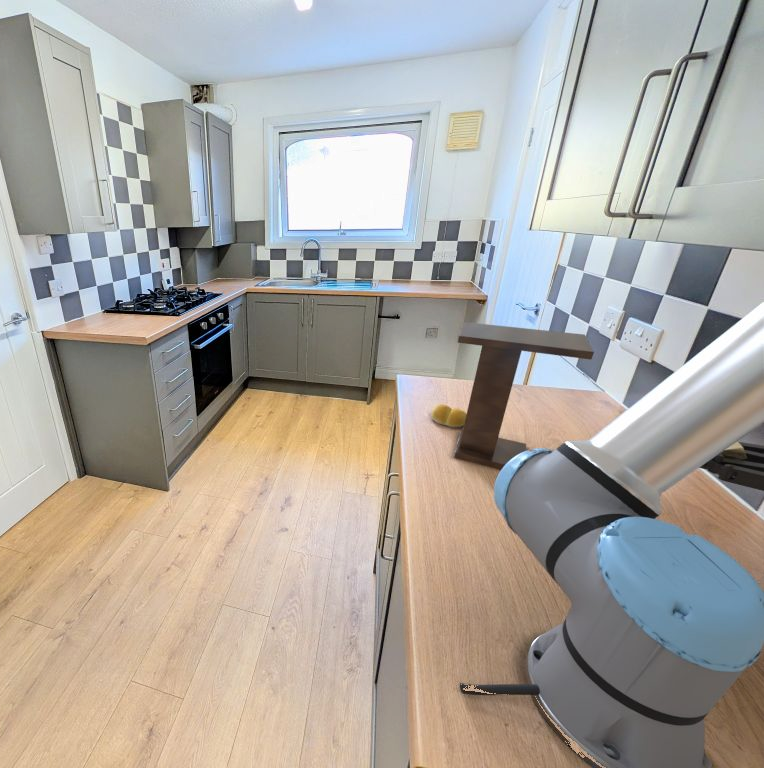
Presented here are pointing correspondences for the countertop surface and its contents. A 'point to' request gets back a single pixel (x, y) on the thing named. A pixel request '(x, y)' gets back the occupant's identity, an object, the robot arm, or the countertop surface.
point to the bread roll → (448, 416)
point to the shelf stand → (503, 384)
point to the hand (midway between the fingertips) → (651, 445)
